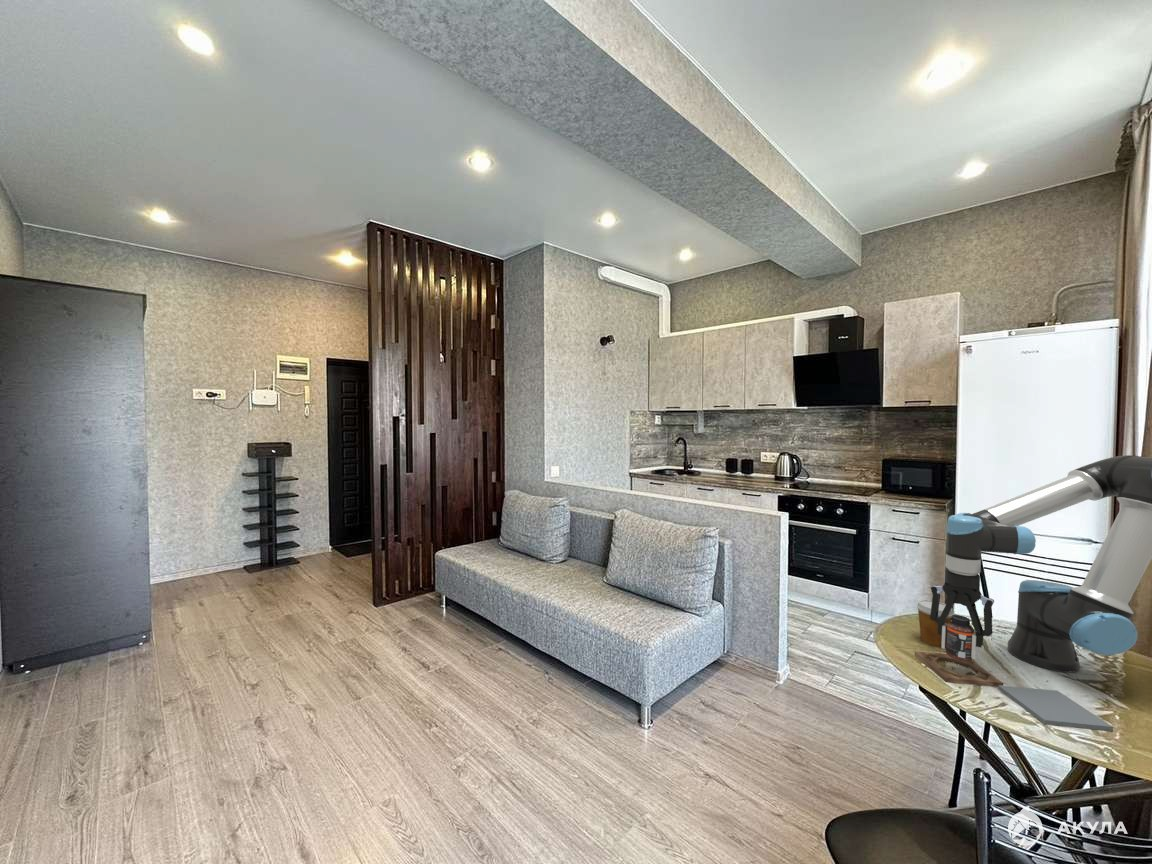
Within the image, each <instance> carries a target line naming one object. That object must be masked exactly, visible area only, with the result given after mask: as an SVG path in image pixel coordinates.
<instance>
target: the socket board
mask: <svg viewBox="0 0 1152 864" xmlns="http://www.w3.org/2000/svg"><path fill="white" fill-rule="evenodd" d="M914 656H915V657H916V658H917V659H919V661H921V662H922V663H923V664H924V665H925V666H927V668H929V669H930V670H931V671H932V672H933V673H934V674H936V675H937V676H938V677H939V678H940V679H942V680H943V682H945V683H952V684H963V685H973V686H974V685H976V686H984V687H985V686H986V687H994V688H998V685H1002V686H1004V682H1003V681H1002V680H1000V679H999V678H997V677H996V676H995V675H994V674H992V673H991V672H989V671H988V670H986V669H985V668H984V667H982V666H981V665H980V664H978V663H977V662H975V661H974V659H972V660H971V661H960V660H957V659H954V658H952V657H950V656H948V655H947V654H946V653H940V652H939V653H938V652H928V651H927V652H926V651H914ZM942 661H943V663H953V662H954V664H955V663H956V665H958V664H959V666H960V667H964V668H968V669H969V670H971V671H972V672H973V673H975V675H970V674H960V673H957V672H955V671H952V670H950V669H947V668H944V667H943V666H942V665H940V664H939V662H942ZM945 661H946V662H945Z"/></svg>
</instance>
